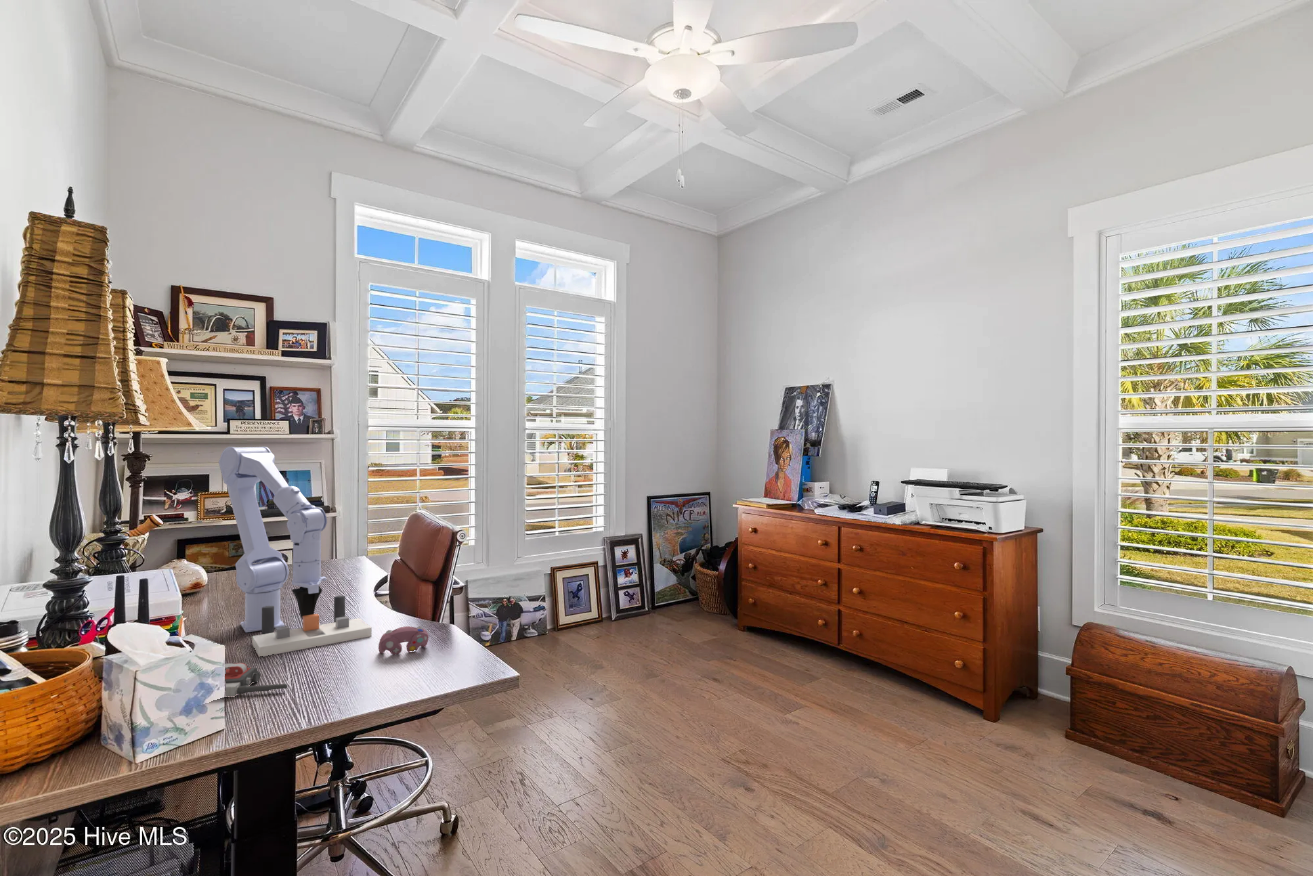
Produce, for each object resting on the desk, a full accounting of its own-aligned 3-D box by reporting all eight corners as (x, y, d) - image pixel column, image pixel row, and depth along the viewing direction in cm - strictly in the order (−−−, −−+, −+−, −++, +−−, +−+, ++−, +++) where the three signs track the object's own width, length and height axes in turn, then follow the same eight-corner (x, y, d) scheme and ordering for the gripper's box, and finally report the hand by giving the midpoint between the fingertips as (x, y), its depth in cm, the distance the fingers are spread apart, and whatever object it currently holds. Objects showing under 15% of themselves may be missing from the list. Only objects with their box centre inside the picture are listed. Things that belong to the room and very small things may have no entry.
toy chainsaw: (156, 705, 107) (284, 696, 111) (156, 679, 108) (284, 671, 111) (184, 686, 116) (302, 678, 120) (184, 662, 116) (302, 655, 120)
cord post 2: (332, 625, 153) (333, 596, 153) (343, 623, 155) (343, 595, 155) (335, 627, 151) (335, 598, 151) (346, 625, 153) (346, 596, 153)
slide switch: (302, 629, 143) (302, 616, 143) (317, 626, 145) (317, 613, 145) (304, 631, 142) (304, 617, 142) (319, 628, 143) (319, 615, 144)
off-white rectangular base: (252, 645, 138) (252, 627, 138) (359, 626, 152) (359, 609, 152) (259, 657, 130) (259, 637, 131) (371, 636, 145) (371, 618, 145)
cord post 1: (260, 637, 144) (261, 606, 144) (273, 635, 145) (273, 605, 145) (262, 640, 142) (262, 609, 142) (274, 638, 143) (275, 607, 143)
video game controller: (378, 664, 131) (380, 638, 128) (377, 649, 134) (378, 623, 131) (428, 657, 135) (431, 631, 132) (426, 642, 139) (428, 617, 136)
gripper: (333, 562, 144) (333, 622, 144) (319, 554, 155) (319, 609, 155) (298, 566, 139) (298, 628, 139) (286, 557, 150) (286, 614, 150)
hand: (306, 618), depth 147 cm, fingers closed
